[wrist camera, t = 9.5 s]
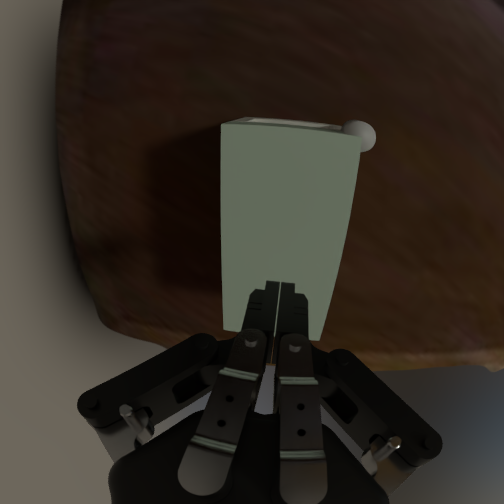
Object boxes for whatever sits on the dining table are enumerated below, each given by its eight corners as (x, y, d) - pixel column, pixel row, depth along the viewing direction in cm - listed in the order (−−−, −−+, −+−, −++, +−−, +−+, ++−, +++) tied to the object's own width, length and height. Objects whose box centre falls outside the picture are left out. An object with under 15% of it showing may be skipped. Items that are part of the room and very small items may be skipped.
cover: (231, 108, 16) (221, 108, 14) (367, 121, 15) (378, 125, 13) (229, 310, 25) (223, 329, 23) (327, 320, 24) (329, 341, 22)
